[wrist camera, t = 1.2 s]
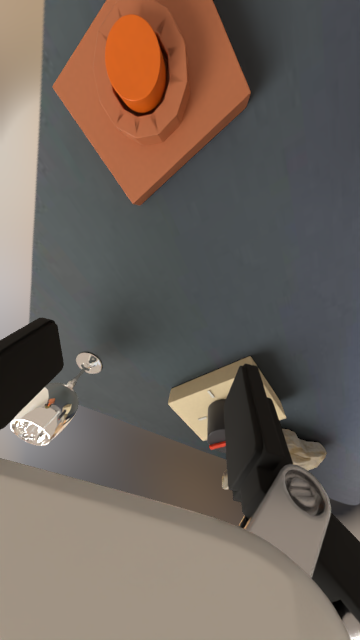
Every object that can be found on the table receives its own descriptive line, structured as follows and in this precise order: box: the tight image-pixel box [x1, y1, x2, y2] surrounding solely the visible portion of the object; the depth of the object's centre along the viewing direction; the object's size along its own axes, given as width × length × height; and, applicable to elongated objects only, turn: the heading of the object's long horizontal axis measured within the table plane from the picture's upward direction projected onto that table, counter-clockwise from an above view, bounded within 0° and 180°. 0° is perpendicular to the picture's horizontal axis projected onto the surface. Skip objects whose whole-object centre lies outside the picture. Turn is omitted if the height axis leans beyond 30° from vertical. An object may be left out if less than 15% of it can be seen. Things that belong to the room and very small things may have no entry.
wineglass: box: [10, 352, 102, 446], centre depth 27 cm, size 6×6×12 cm
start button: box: [105, 14, 166, 113], centre depth 13 cm, size 4×4×2 cm
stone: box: [222, 429, 327, 489], centre depth 35 cm, size 21×12×5 cm, turn 134°
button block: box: [53, 0, 251, 205], centre depth 15 cm, size 12×10×4 cm
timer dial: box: [207, 399, 226, 453], centre depth 27 cm, size 5×5×5 cm
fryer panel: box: [168, 356, 286, 441], centre depth 30 cm, size 14×10×3 cm
